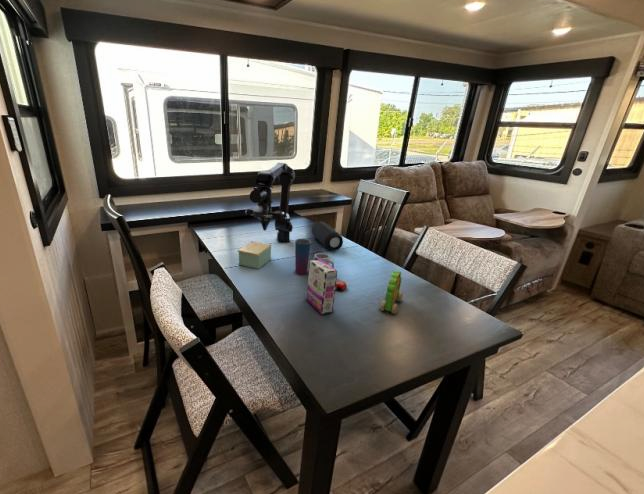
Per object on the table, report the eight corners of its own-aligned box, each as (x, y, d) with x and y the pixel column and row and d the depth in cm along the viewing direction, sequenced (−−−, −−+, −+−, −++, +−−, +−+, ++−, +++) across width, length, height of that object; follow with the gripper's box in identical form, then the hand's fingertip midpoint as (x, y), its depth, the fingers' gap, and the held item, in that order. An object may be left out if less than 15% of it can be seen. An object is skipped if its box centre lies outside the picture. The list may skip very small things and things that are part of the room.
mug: (310, 269, 143) (311, 255, 141) (319, 264, 148) (320, 252, 145) (329, 276, 137) (330, 262, 134) (337, 271, 141) (338, 258, 139)
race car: (347, 287, 128) (349, 278, 126) (344, 292, 123) (345, 284, 122) (317, 279, 133) (318, 271, 132) (313, 285, 129) (313, 276, 127)
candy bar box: (333, 312, 110) (338, 270, 104) (321, 315, 108) (325, 272, 102) (317, 297, 120) (320, 258, 114) (306, 299, 118) (308, 260, 112)
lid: (258, 255, 139) (258, 254, 139) (237, 251, 143) (237, 250, 143) (271, 246, 150) (271, 244, 150) (251, 242, 154) (251, 241, 154)
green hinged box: (258, 268, 142) (258, 255, 140) (238, 264, 146) (238, 251, 144) (270, 259, 153) (271, 246, 150) (251, 255, 157) (251, 242, 154)
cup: (310, 271, 141) (313, 240, 136) (305, 277, 136) (307, 245, 130) (296, 268, 144) (298, 237, 138) (291, 273, 138) (292, 242, 132)
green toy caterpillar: (387, 295, 122) (394, 260, 116) (402, 299, 119) (409, 263, 114) (377, 314, 109) (384, 276, 104) (393, 319, 107) (401, 280, 101)
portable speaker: (343, 251, 164) (345, 233, 160) (325, 252, 162) (327, 234, 158) (325, 235, 187) (326, 219, 183) (309, 236, 185) (310, 220, 181)
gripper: (239, 199, 144) (240, 231, 150) (275, 204, 137) (275, 238, 143) (251, 195, 153) (251, 225, 159) (285, 200, 146) (284, 231, 152)
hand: (264, 230), depth 153 cm, fingers closed
